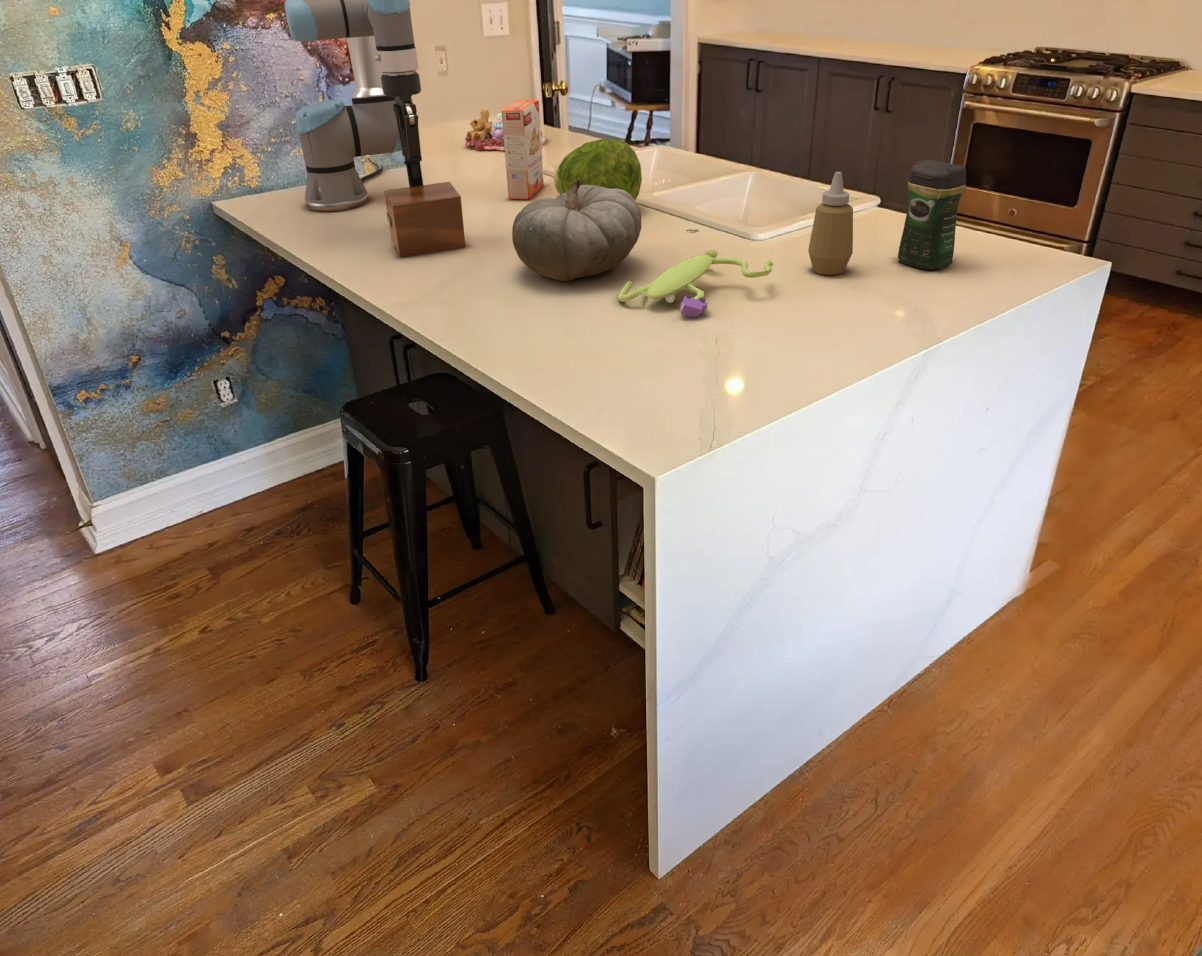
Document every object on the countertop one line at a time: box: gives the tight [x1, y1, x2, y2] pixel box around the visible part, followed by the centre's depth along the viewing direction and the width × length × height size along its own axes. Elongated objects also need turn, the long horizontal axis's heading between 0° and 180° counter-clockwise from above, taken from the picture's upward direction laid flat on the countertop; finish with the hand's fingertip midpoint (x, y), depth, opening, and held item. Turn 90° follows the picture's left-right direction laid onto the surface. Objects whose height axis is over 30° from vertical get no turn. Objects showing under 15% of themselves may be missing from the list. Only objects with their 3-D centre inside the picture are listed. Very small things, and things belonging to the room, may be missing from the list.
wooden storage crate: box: [383, 181, 466, 258], centre depth 186 cm, size 9×14×11 cm, turn 112°
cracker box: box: [501, 99, 545, 201], centre depth 217 cm, size 14×6×21 cm, turn 168°
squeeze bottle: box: [807, 171, 854, 276], centre depth 162 cm, size 8×8×18 cm
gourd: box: [511, 179, 642, 282], centre depth 169 cm, size 25×25×17 cm
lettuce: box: [553, 138, 643, 201], centre depth 204 cm, size 17×23×16 cm
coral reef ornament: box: [464, 109, 546, 151], centre depth 271 cm, size 25×24×9 cm
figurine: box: [617, 249, 774, 318], centre depth 158 cm, size 18×27×6 cm
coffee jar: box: [897, 159, 967, 270], centre depth 163 cm, size 10×8×19 cm
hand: (417, 194), depth 187 cm, fingers closed
